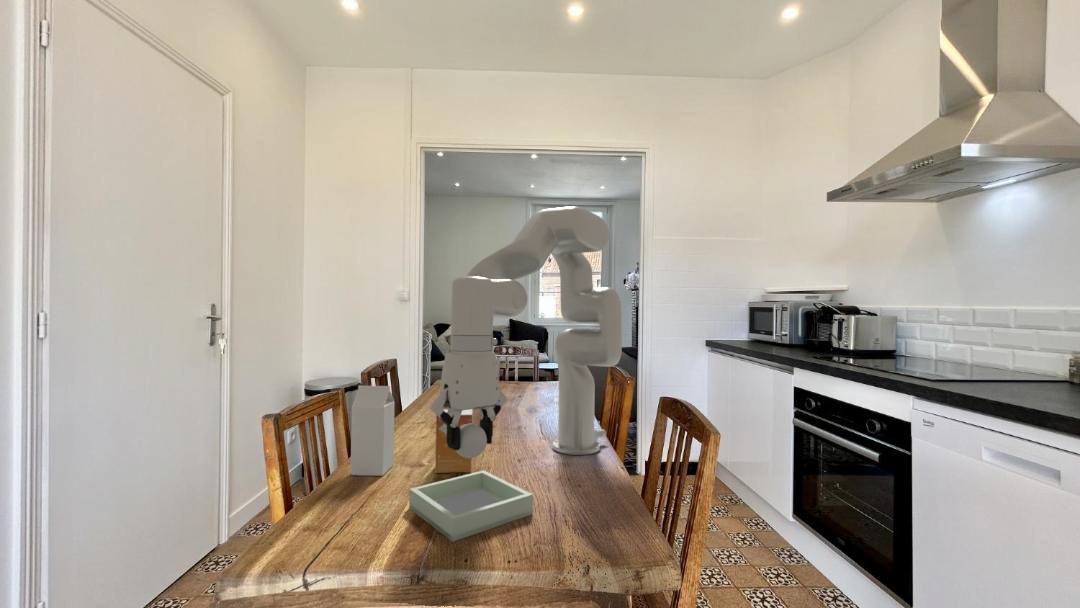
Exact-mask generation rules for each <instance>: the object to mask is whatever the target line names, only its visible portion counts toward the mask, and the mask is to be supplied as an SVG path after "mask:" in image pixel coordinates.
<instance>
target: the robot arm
mask: <svg viewBox="0 0 1080 608" xmlns="http://www.w3.org/2000/svg"><path fill="white" fill-rule="evenodd" d="M609 240H610V232H609V228H608V224H607V222H606V221H605V220H604V219H603V218H602V217H601V216H599V215H597V214H595V213H593V212H591V211H590V210H587V209H585V208H583V207H580V206H574V205H573V206H563V207H555V208H546V209H541V210H538V211H536V212H534V213H533V214H532V215H531V217H530V218H529V219H528V221H527V222H526V223H525V224H524V226H523V227H522V229H521V230H520V231H519V232H518V233H517V234H516V236H515V238H514V239H513V240H512V241H511V242H510V243H509V244H507V245H505V246H503V247H501V248H500V249H498V250H497V251H495V252H494V253H491V254H490V255H488V256H486V257H485V258H483V259H481V260H480V261H479V262H477V263H476V264H475V265H474V266H473V267H472V268H471V269H470V271H469V272H468V273H467V274H466V275H465V276H459V277H457V278H454V280H453V281H452V283H451V302H450V303H451V310H450V312H451V313H450V315H451V317H450V326H451V327H450V352H446V353H445V355H444V356H445V357H444V361H443V365H442V371H441V379H440V387H439V388H440V389H439V390H440V391H439V395H438V396H437V397H436V399H435V400H434V401H433V403H432V404H431V405H430V408H429V409H430V410H431V412H433V413H434V414H435V415H436V417H437V416H438V417H439V418H440V419H441V420H442V421H443V422H444V424H445V425H447V444H448V447H449V448H451V449H454V450H459V449H460V427H458V426H457V424H458V422H459V419H460V416H461V413H462V410H470V409H473V410H476V409H479V410H480V414H481V417H482V418H480V420H479V426H480V427H481V428H482V429H483V430H484V431H485V433H486V437H487V444H488V445H490V444H492V443H493V435H494V434H493V431H494V429H493V428H494V422H495V421H496V419H497V415H498V414H499V413H500V411H501V410H502V408H503V407H504V406H505V404H506V403H507V402H508V397H507V396H506V395H505V394H504V393H503V391H502V390H501V389H500V386H499V385H500V383H499V381H500V379H499V369H498V361H497V356H496V352H494V351H493V349H494V346H497V345H498V339H497V338H496V337H495V338H494V333H493V331H494V330H493V329H494V318H499V319H500V318H501V319H502V318H503V319H504V318H505V319H506V318H513V317H516V316H519V315H520V314H521V313H522V312H523V311H524V310H525V308H526V306H527V304H528V293H527V290H526V288H525V287H524V286H523V284H521V283H520V282H519V281H517V280H518V279H521V278H525V277H527V276H529V275H533V274H535V273H536V272H538V271H540V270H541V269H542V268H543V267H544V265H545V263H546V262H547V260H548V259H549V257H550V255H552V257H553V259H554V260H555V262H556V264H557V266H558V269H559V276H560V277H559V279H560V280H559V281H560V282H559V283H560V287H559V288H560V312H561V313H560V314H561V317H562V319H563V320H564V321H565V322H567V323H571V324H572V323H573V324H585V325H586V324H590V325H591V324H592V325H593V324H594V325H598V326H599V328H596V329H595V328H579V327H578V328H577V327H575V328H567V329H564V330H562V331H561V332H559V333H558V334H557V336H556V337H555V345H554V350H555V355H556V361H557V368H558V418H557V419H558V420H557V421H558V428H557V429H558V430H557V431H558V433H557V434H558V435H557V436H558V439H556V440H554V441H553V442H552V445H551V447H552V449H553V450H554V451H555V452H558V453H559V454H560V453H561V454H564V455H573V456H585V455H591V454H595V453H597V452H599V451H600V450H601V444H600V443H599V442H598V439H599V438H603V437H606V436H607V432H606V430H605V429H603V428H602V429H598V430H597V429H595V403H596V400H595V398H596V397H595V392H596V391H595V389H596V388H595V386H596V385H595V384H596V383H595V379H594V376H593V375H592V373H591V371H590V369H589V367H588V366H591V367H592V366H593V367H607V368H609V367H614V366H616V365H617V364H619V363H620V359H621V356H622V352H623V351H622V347H623V339H622V338H623V335H622V334H623V333H622V331H623V329H622V328H623V326H622V325H623V324H622V321H623V320H622V316H623V315H622V302H621V298H620V294H619V293H618V291H616V290H615V289H614V288H612V287H609V286H608V287H607V286H594V285H593V268H592V264H591V263H590V261H589V260H588V259H587V257H586V256H585V255H584V254H583V253H596V252H597V253H598V252H601V251H602V250H604V249H605V248H606V247H607V246H608V243H609ZM444 408H448V409H447V410H448V411H447V413H446V412H445V411H444V410H445V409H444ZM487 444H486V445H487Z"/></svg>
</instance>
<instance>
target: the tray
mask: <svg viewBox="0 0 1080 608" xmlns="http://www.w3.org/2000/svg"><path fill="white" fill-rule="evenodd" d="M477 490H480V491H482V492H483V493H485V494H487V495H489V496H491V497H492V498H494V499H496V500H498V501H499V502H497V503H494V504H491V505H488V506H484V507H481V508H478V509H475V510H471V511H468V512H465V513H462V514H458V515H454V514H452V513H451V512H450V511H448V510H447V509H445V508H444V507H442V506H441V505H439V504H438V503H436V502H438V501H442V500H445V499H449V498H452V497H456V496H460V495H463V494H467V493H470V492H474V491H477ZM533 495H534V494H533V493H531V492H529V491H527V490H524V489H523V488H521V487H518V486H516V485H514V484H513V483H510V482H508V481H507V480H504V479H502V478H500V477H498V476H496V475H494V474H492V473H491V472H489V471H486V470H480V471H476V472H470V473H469V474H468V473H467V474H464V475H460V476H456V477H452V478H448V479H444V480H440V481H435V482H432V483H427V484H423V485H420V486H415V487H412V488H409V497H408V498H409V504H408V506H409V507H408V508H409V509H410V510H411V511H412V512H413V513H415V514H416V515H417V516H419V518H422V520H424V521H425V522H426V523H428V524H429V525H430V526H431V527H432V528H434V529H435V530H437V532H439V533H441V534H442V535H443V536H444V537H445V538H447V539H448V540H449V541H451V542H452V543H454V542H456V541H459V540H462V539H464V538H467V537H471V536H474V535H476V534H479V533H482V532H485V531H488V530H491V529H494V528H497V527H500V526H503V525H505V524H508V523H511V522H513V521H517V520H520V519H523V518H525V517H529V516H532V515H533V505H534V504H533V501H534V500H533V499H534V496H533Z"/></svg>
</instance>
